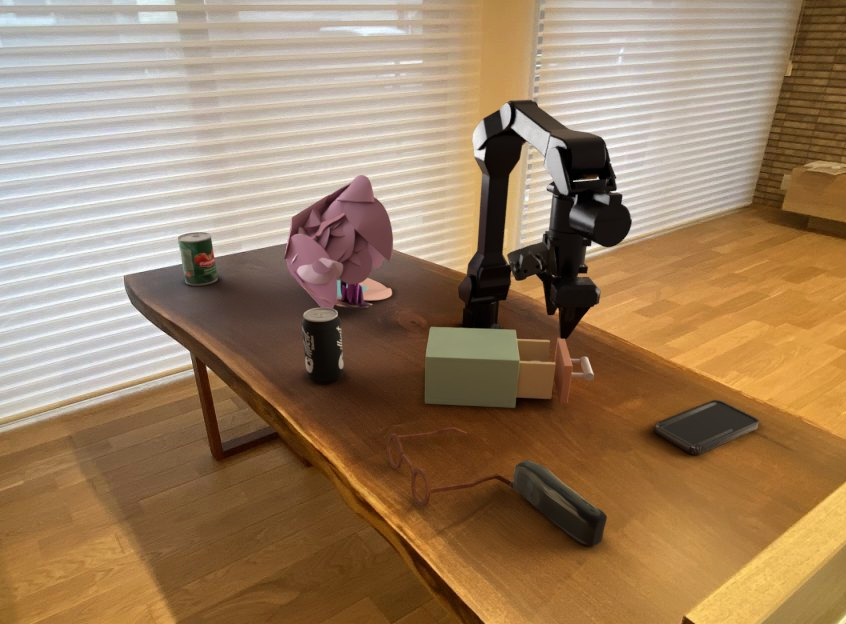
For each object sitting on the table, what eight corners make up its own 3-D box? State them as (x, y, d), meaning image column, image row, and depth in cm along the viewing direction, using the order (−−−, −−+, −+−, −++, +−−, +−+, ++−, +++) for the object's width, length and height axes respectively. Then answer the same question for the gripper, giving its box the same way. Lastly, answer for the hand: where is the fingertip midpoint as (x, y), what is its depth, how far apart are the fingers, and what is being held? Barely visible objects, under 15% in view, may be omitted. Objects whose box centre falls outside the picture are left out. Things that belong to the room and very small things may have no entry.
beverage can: (337, 387, 106) (333, 322, 100) (301, 383, 107) (295, 319, 101) (348, 369, 111) (344, 307, 105) (313, 366, 112) (308, 305, 107)
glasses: (385, 458, 88) (383, 429, 85) (466, 434, 92) (466, 406, 89) (424, 515, 77) (423, 484, 74) (513, 485, 81) (515, 455, 79)
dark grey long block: (612, 511, 70) (519, 447, 81) (595, 521, 69) (502, 455, 79) (604, 543, 73) (515, 476, 83) (588, 554, 71) (498, 484, 82)
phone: (651, 424, 92) (717, 398, 99) (650, 430, 93) (715, 404, 99) (697, 450, 86) (763, 421, 93) (695, 457, 87) (761, 427, 93)
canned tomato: (213, 285, 150) (205, 241, 145) (180, 285, 150) (172, 241, 145) (221, 274, 157) (214, 231, 152) (191, 274, 157) (183, 232, 152)
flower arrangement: (420, 325, 140) (450, 201, 127) (333, 334, 125) (357, 194, 113) (338, 271, 163) (357, 160, 150) (256, 272, 148) (270, 150, 135)
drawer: (583, 373, 107) (588, 338, 104) (592, 404, 98) (599, 367, 95) (481, 369, 109) (484, 334, 105) (482, 399, 100) (484, 362, 96)
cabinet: (511, 373, 109) (515, 329, 105) (515, 407, 99) (519, 360, 95) (429, 370, 111) (430, 326, 106) (424, 403, 101) (425, 356, 96)
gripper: (504, 213, 98) (497, 304, 106) (525, 247, 82) (516, 353, 89) (573, 212, 98) (562, 304, 106) (609, 246, 82) (592, 352, 89)
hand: (556, 326), depth 98 cm, fingers open, 9 cm apart
